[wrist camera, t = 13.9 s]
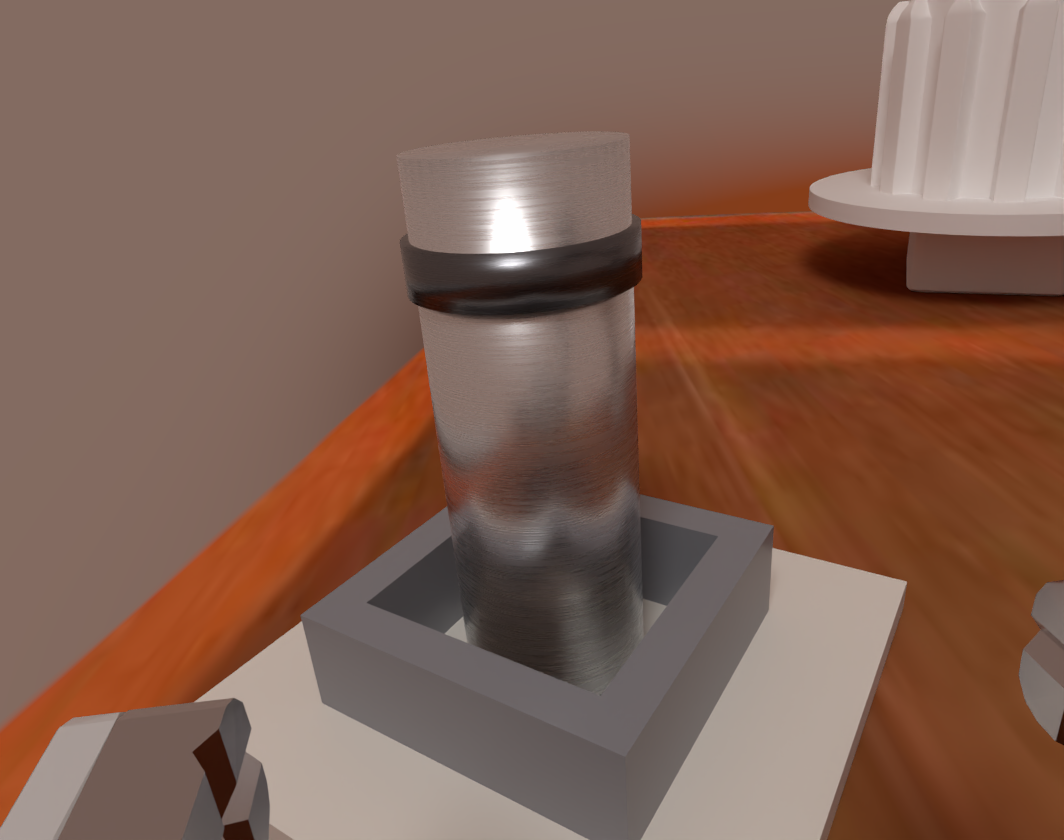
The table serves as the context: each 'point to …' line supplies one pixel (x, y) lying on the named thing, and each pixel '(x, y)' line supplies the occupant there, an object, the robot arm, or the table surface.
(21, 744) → the table surface
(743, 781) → the socket mount
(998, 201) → the flanged gear
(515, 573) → the capped metal cylinder
